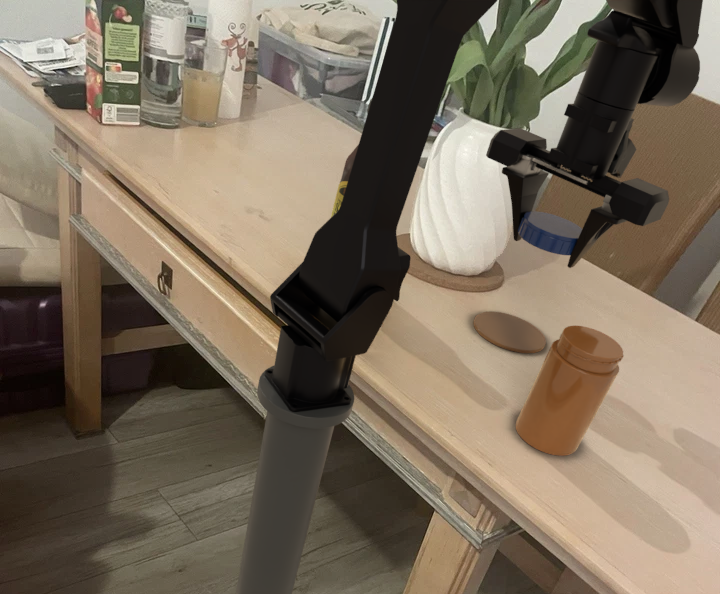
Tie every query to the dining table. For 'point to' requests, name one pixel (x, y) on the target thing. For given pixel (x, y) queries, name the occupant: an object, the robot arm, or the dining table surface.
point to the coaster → (509, 332)
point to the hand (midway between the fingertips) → (543, 253)
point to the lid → (549, 232)
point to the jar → (569, 390)
